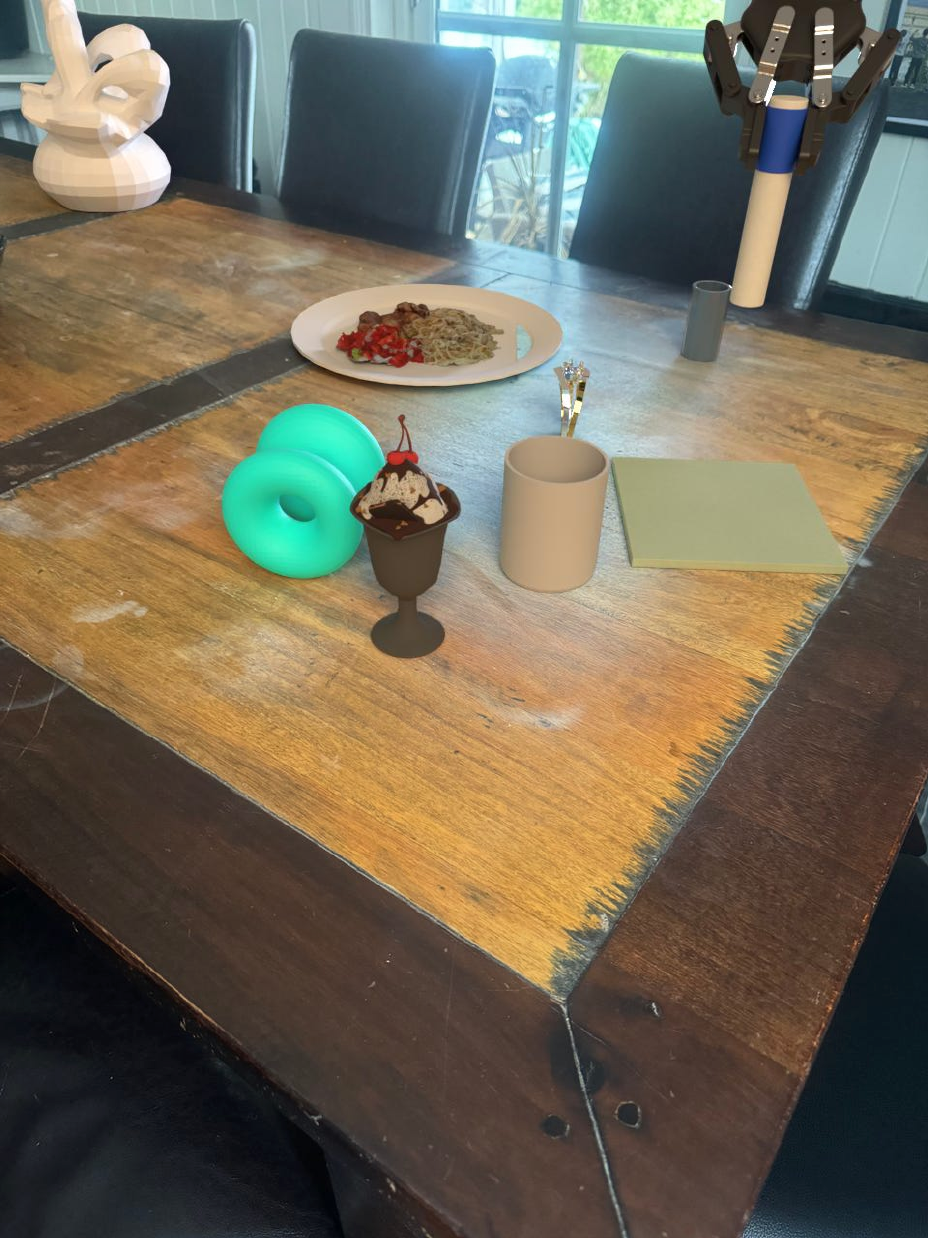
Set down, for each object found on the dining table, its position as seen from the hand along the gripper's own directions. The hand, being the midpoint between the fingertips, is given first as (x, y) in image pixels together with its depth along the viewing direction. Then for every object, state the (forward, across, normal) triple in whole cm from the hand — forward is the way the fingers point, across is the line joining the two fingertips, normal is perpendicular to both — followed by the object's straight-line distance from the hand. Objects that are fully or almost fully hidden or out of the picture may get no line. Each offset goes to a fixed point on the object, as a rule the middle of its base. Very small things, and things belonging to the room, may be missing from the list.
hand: (776, 165), depth 63 cm
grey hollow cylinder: (-2, -3, +37) cm, 37 cm away
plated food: (+2, -32, +34) cm, 47 cm away
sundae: (+37, -18, -2) cm, 42 cm away
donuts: (+32, -28, +4) cm, 43 cm away
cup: (+29, -11, +7) cm, 32 cm away
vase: (-29, -100, +65) cm, 123 cm away
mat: (+22, +1, +14) cm, 26 cm away
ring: (+16, -13, +19) cm, 28 cm away
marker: (+6, 0, +9) cm, 10 cm away
